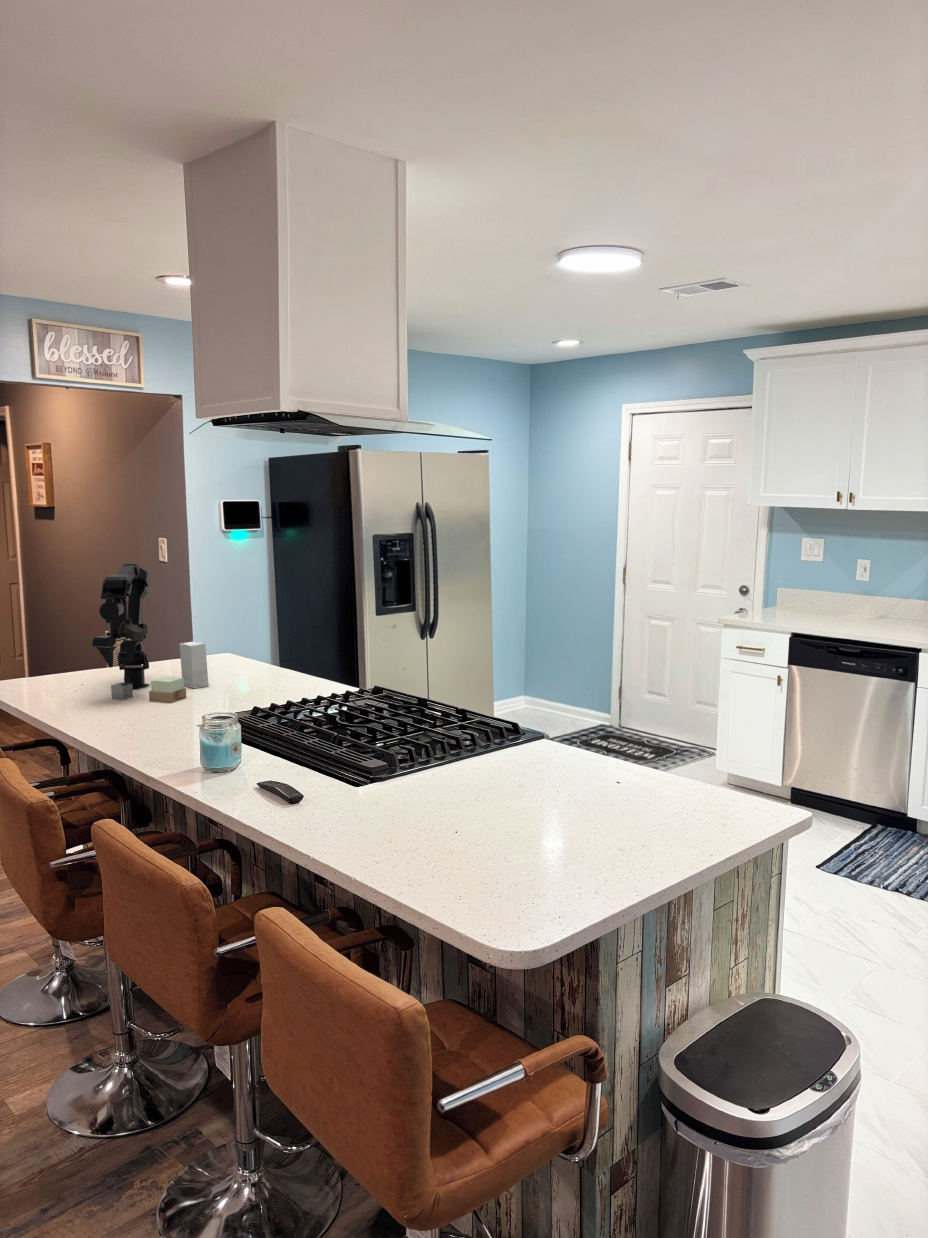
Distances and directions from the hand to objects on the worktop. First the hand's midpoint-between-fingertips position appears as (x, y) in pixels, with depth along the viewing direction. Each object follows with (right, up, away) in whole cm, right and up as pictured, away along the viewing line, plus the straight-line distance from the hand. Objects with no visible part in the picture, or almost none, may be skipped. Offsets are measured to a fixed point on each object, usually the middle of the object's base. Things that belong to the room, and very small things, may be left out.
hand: (120, 664), depth 286 cm
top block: (+15, -8, -1) cm, 17 cm away
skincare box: (+18, -8, +20) cm, 28 cm away
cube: (0, -11, +1) cm, 11 cm away
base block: (+15, -11, 0) cm, 19 cm away
